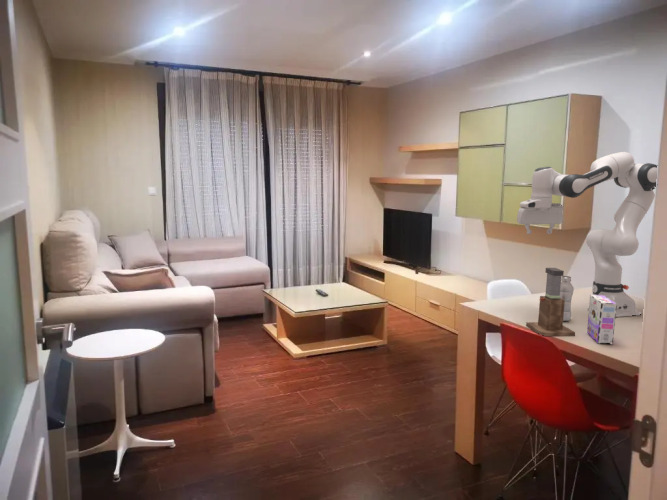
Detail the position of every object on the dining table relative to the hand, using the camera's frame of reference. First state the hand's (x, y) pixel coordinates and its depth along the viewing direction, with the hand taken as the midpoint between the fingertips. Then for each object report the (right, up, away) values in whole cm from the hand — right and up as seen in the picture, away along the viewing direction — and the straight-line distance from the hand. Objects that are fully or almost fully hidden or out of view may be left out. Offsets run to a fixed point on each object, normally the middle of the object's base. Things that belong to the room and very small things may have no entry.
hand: (539, 233), depth 230 cm
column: (-3, -33, -21) cm, 39 cm away
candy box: (+12, -43, -29) cm, 53 cm away
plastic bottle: (+9, -39, -5) cm, 40 cm away
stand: (-3, -41, -19) cm, 45 cm away
